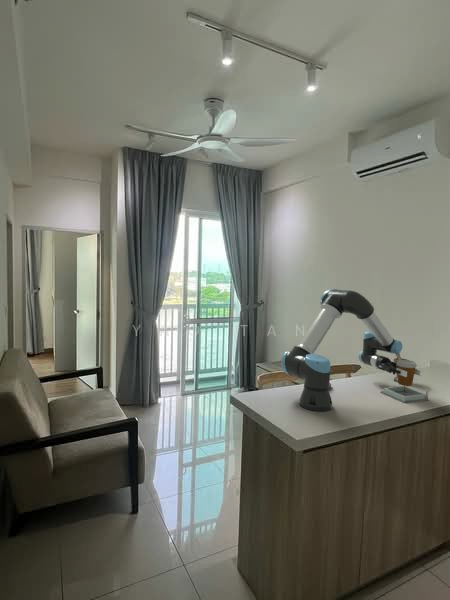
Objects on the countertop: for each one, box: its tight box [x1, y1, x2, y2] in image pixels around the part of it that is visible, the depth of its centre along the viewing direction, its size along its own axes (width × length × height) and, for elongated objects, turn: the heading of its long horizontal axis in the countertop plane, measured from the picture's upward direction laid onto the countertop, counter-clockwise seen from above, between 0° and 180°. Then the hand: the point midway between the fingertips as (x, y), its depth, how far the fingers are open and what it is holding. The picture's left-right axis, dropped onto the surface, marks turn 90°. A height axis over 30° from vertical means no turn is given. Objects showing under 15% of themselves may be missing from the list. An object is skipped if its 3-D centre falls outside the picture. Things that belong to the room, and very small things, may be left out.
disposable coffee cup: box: [396, 359, 418, 387], centre depth 190 cm, size 10×10×12 cm
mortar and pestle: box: [393, 353, 408, 383], centre depth 219 cm, size 12×9×20 cm
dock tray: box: [380, 385, 430, 404], centre depth 190 cm, size 16×16×5 cm
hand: (413, 373), depth 185 cm, fingers closed on disposable coffee cup, 8 cm apart
